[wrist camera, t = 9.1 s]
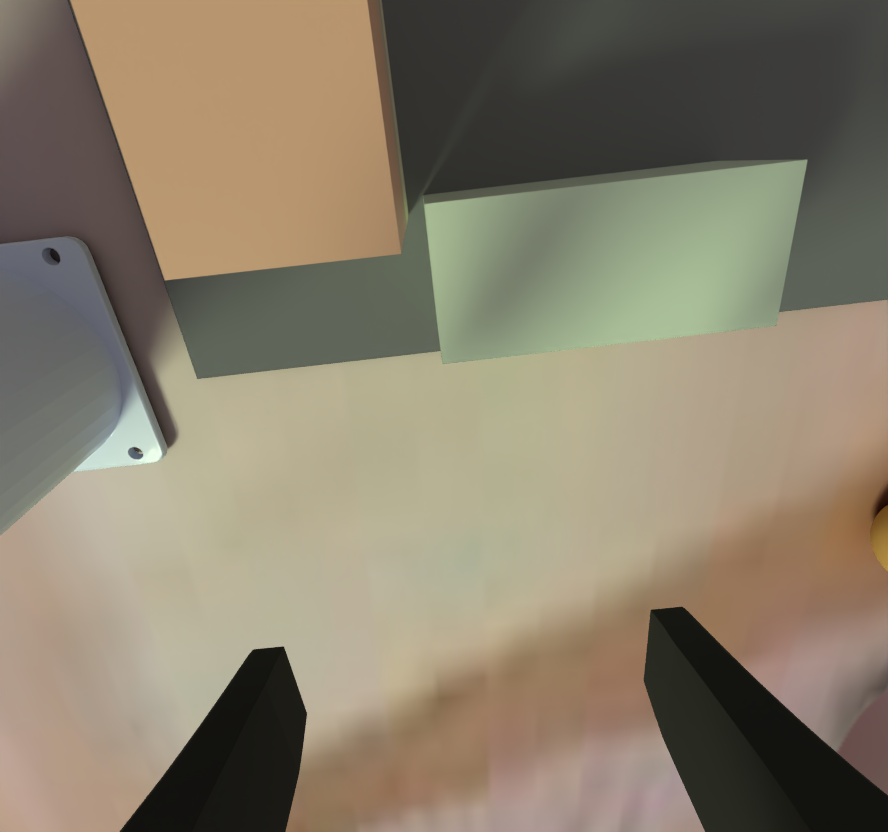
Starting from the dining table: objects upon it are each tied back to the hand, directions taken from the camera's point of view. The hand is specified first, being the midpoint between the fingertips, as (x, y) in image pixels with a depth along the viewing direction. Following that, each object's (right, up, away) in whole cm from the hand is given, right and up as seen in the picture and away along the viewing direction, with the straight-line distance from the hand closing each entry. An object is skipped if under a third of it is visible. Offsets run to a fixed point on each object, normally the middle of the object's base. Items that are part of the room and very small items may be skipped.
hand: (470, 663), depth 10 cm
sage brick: (+4, +10, +6) cm, 13 cm away
